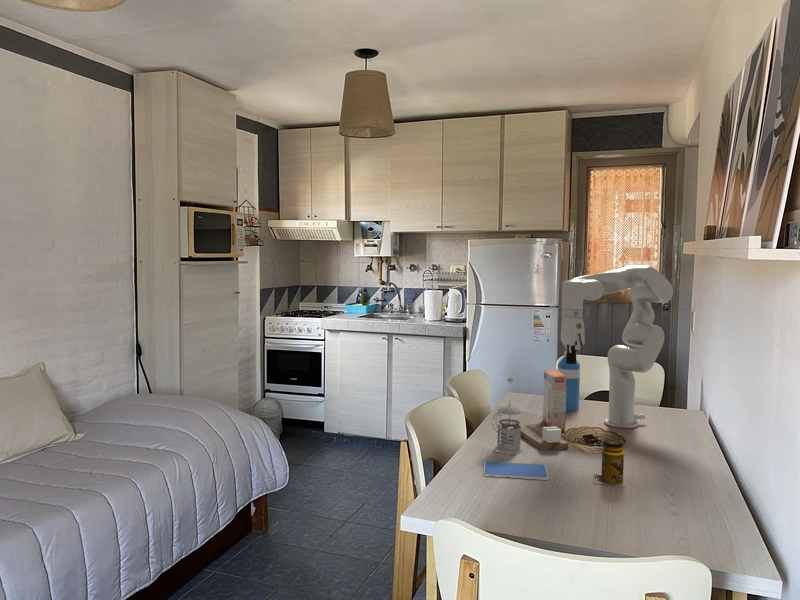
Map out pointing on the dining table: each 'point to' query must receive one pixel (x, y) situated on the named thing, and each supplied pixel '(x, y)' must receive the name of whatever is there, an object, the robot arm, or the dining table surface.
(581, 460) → the dining table surface
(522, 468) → the tablet computer
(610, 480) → the condiment
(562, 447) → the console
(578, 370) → the water bottle
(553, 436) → the fader knob
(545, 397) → the cracker box
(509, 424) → the french press
